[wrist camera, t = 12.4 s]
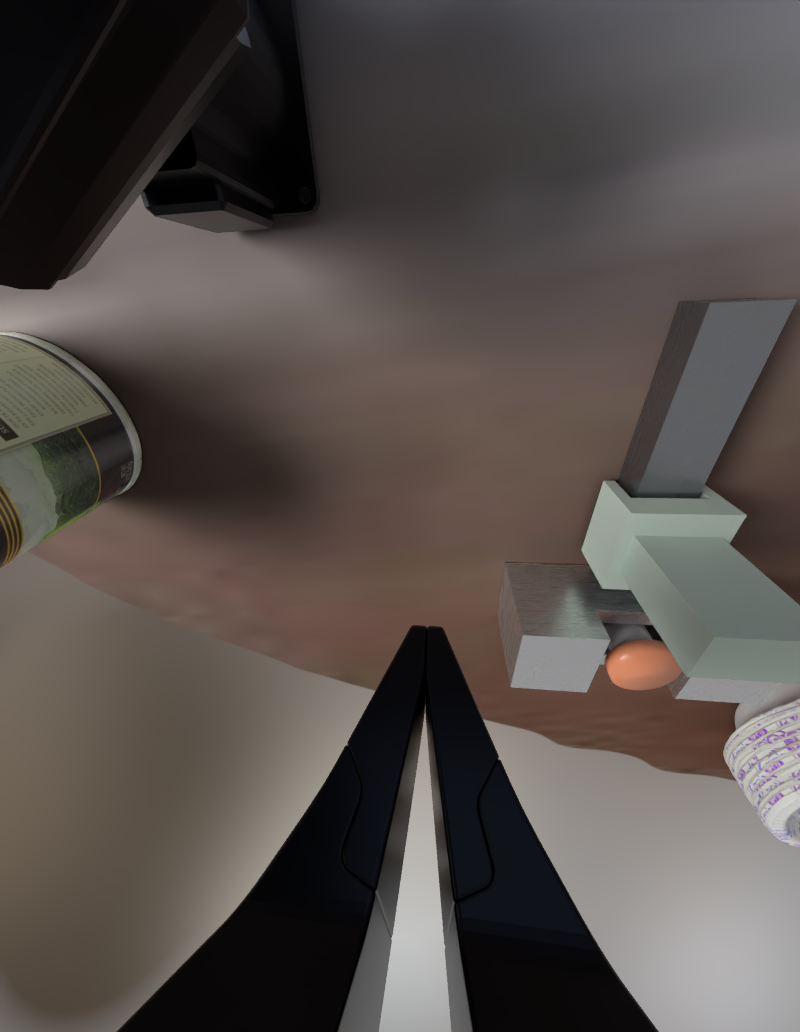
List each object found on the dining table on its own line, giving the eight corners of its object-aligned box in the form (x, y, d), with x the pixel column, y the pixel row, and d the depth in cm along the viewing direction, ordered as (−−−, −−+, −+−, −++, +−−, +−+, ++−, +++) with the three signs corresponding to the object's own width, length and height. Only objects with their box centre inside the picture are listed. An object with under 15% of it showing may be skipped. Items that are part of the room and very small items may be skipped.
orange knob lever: (587, 583, 22) (621, 650, 18) (646, 585, 22) (694, 654, 18) (574, 620, 24) (602, 687, 20) (628, 622, 24) (667, 692, 20)
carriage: (603, 480, 19) (716, 611, 11) (700, 481, 19) (888, 618, 11) (581, 550, 22) (660, 694, 14) (665, 552, 21) (795, 703, 13)
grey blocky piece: (505, 562, 23) (522, 635, 18) (727, 569, 22) (811, 650, 17) (496, 611, 26) (510, 687, 21) (694, 621, 25) (758, 704, 20)
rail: (679, 301, 15) (709, 303, 13) (756, 298, 14) (797, 299, 13) (591, 559, 23) (603, 580, 21) (639, 560, 22) (655, 582, 21)
